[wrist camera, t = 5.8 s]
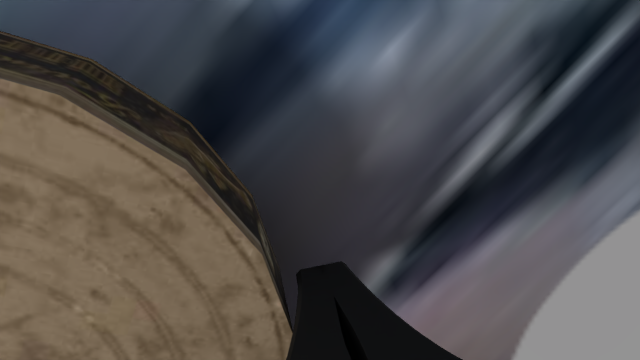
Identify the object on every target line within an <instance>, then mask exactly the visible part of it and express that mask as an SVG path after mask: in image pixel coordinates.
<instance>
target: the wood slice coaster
mask: <svg viewBox="0 0 640 360" xmlns="http://www.w3.org/2000/svg"><path fill="white" fill-rule="evenodd" d="M292 334H293V330H292V326H291V321H290V316H289V312H288V307H287V302H286V298H285V293H284V288H283V284H282V279H281V274H280V270H279V266H278V264H277V261H276V258H275V256H274V253H273V250H272V248H271V245H270V242H269V240H268V237H267V234H266V231H265V229H264V226H263V223H262V221H261V218H260V215H259V213H258V210H257V207H256V205H255V202H254V199H253V197H252V194H251V193H250V192H249V191H248V190H247V188H246V187H245V186H244V185H243V184H242V183H241V181H240V180H239V179H238V178H237V177H236V175H235V174H234V173H233V172H232V171H231V170H230V168H229V167H228V166H227V165H226V164H225V162H224V161H223V160H222V159H221V158H220V157H219V155H218V154H217V153H216V152H215V151H214V149H213V148H212V147H211V146H210V145H209V144H208V142H207V141H206V140H205V139H204V138H203V136H202V135H201V134H200V133H199V132H198V131H197V129H196V128H195V127H194V126H193V125H192V123H191V122H190V121H188V120H186V119H185V118H183V117H182V116H180V115H179V114H177V113H176V112H174V111H172V110H171V109H169V108H168V107H166V106H165V105H163V104H161V103H160V102H158V101H157V100H155V99H154V98H152V97H150V96H149V95H147V94H146V93H144V92H143V91H141V90H139V89H138V88H136V87H135V86H133V85H132V84H130V83H129V82H127V81H125V80H124V79H122V78H121V77H119V76H118V75H116V74H114V73H113V72H111V71H110V70H108V69H107V68H105V67H103V66H102V65H100V64H99V63H97V62H96V61H94V60H93V59H90V58H86V57H83V56H80V55H77V54H73V53H70V52H67V51H64V50H60V49H57V48H54V47H50V46H47V45H44V44H41V43H37V42H34V41H31V40H28V39H24V38H21V37H18V36H15V35H11V34H8V33H5V32H1V31H0V360H286V358H287V355H288V351H289V347H290V342H291V338H292Z"/></svg>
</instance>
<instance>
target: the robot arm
mask: <svg viewBox="0 0 640 360" xmlns="http://www.w3.org/2000/svg"><path fill="white" fill-rule="evenodd" d="M296 277H297V283H298V301H297V310H296V317H295V324H294V329H293V334H292V338H291V342H290V347H289V351H288V355H287V358H286V360H462V359H460V358H458V357H457V356H455V355H453V354H451V353H450V352H448V351H446V350H445V349H443V348H441V347H440V346H438V345H437V344H435V343H434V342H432V341H431V340H429V339H428V338H426V337H425V336H423V335H422V334H421V333H419V332H418V331H417V330H415V329H414V328H413V327H411V326H410V325H409V324H407V323H406V322H405V321H404V320H402V319H401V318H400V317H399V316H397V315H396V314H395V313H394V312H393V311H392V310H390V309H389V308H388V307H387V306H386V305H385V304H384V303H383V302H382V301H380V300H379V299H378V298H377V297H376V296H375V295H374V294H373V293H372V292H371V291H370V290H369V289H368V288H367V287H366V286H365V285H364V284H363V283H362V282H361V281H360V280H359V279H358V278H357V277H356V276H355V275H354V274H353V272H352V271H351V270H350V269H349V268H348V267H347V265H346V264H344V263H343V262H341V261H340V262H336V263H331V264H326V265H321V266H316V267H311V268H307V269H302V270H299V272H298V273H297V274H296Z"/></svg>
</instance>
